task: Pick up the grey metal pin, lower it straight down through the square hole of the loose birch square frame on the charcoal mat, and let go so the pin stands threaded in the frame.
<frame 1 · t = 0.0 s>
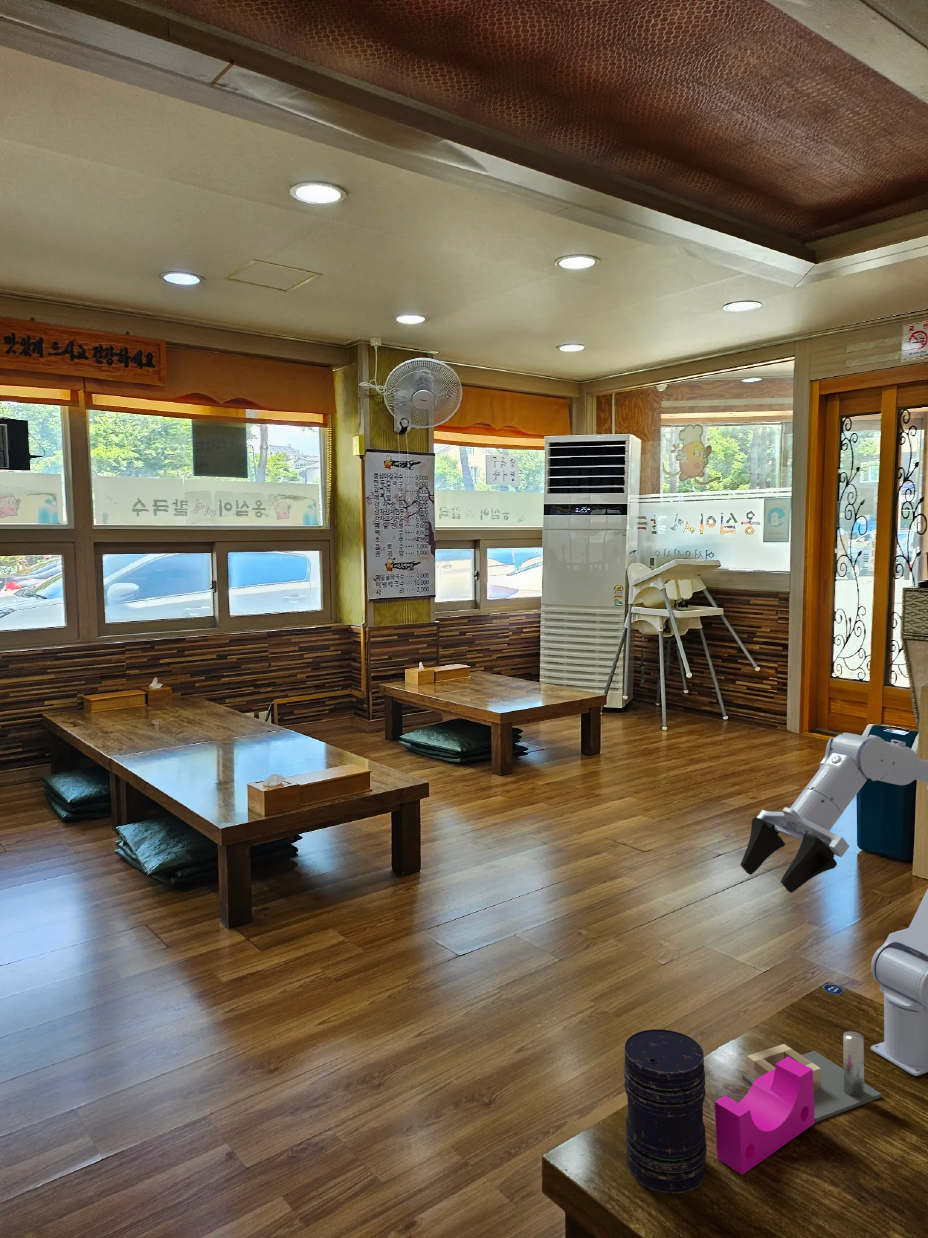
hand: (765, 878, 116), 32 cm above the table, tool tilted 50°, fingers open, 7 cm apart
charcoal mat: (810, 1087, 122), on the table
metal pin: (853, 1092, 120), resting on charcoal mat
dark metal barrel: (666, 1167, 107), on the table
birch square frame: (783, 1082, 123), resting on charcoal mat
toy block: (759, 1137, 112), on the table, touching charcoal mat
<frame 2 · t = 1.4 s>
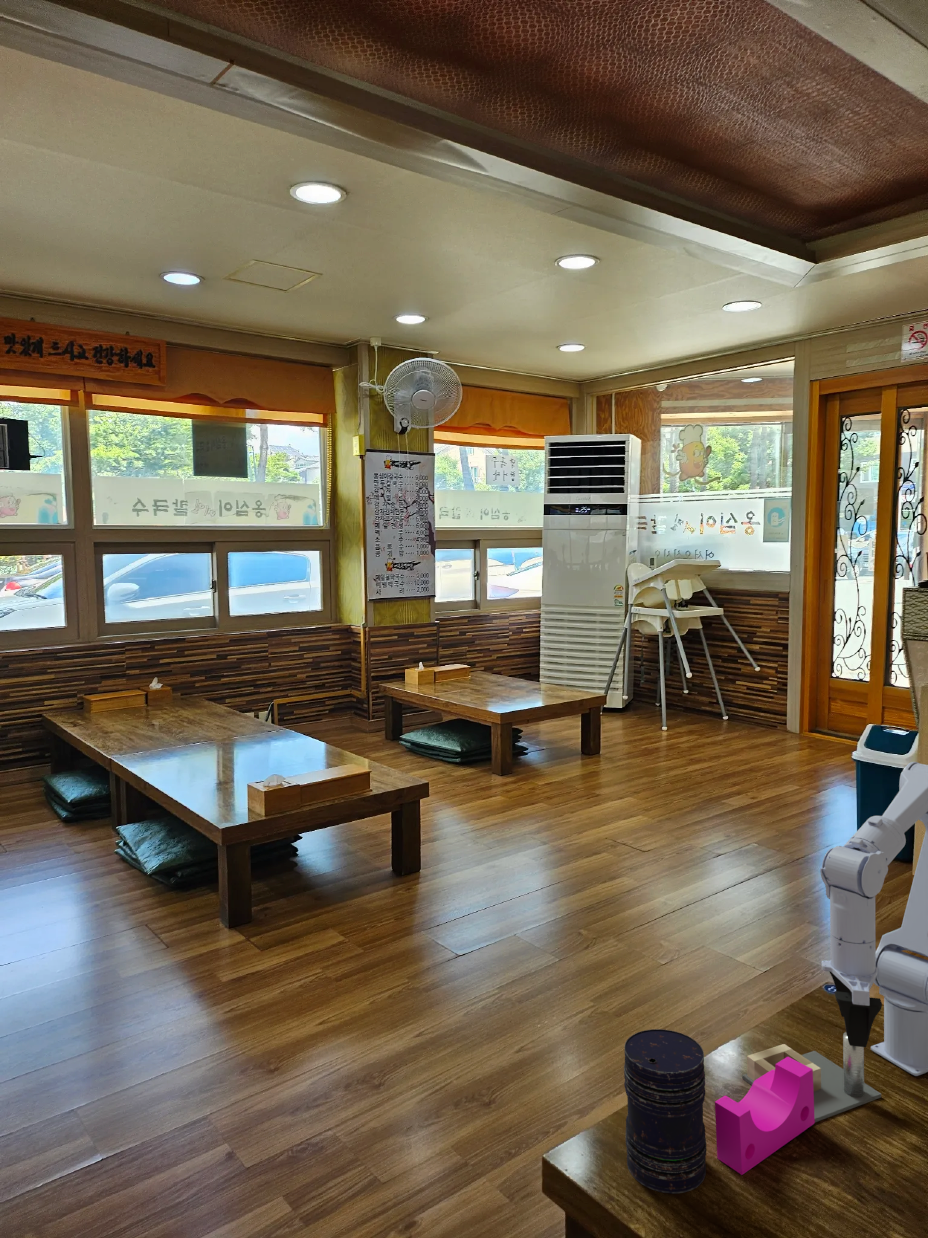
hand: (853, 1030, 119), 9 cm above the table, tool pointing down, fingers open, 7 cm apart
nothing on the table moved.
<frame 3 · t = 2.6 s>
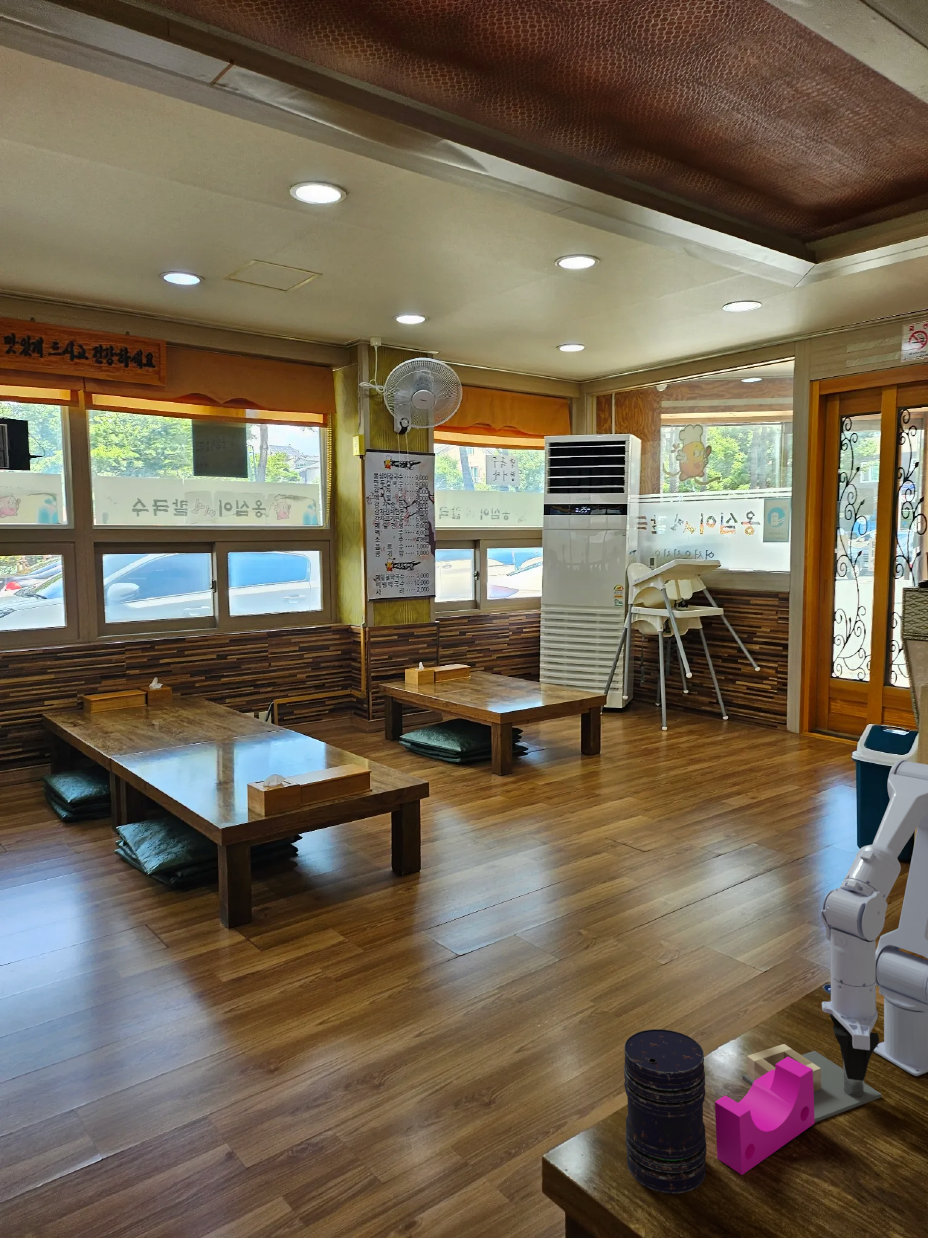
hand: (853, 1072, 120), 3 cm above the table, tool pointing down, fingers closed on metal pin, 3 cm apart
metal pin: (853, 1092, 120), resting on charcoal mat, touching gripper
everything else where it was.
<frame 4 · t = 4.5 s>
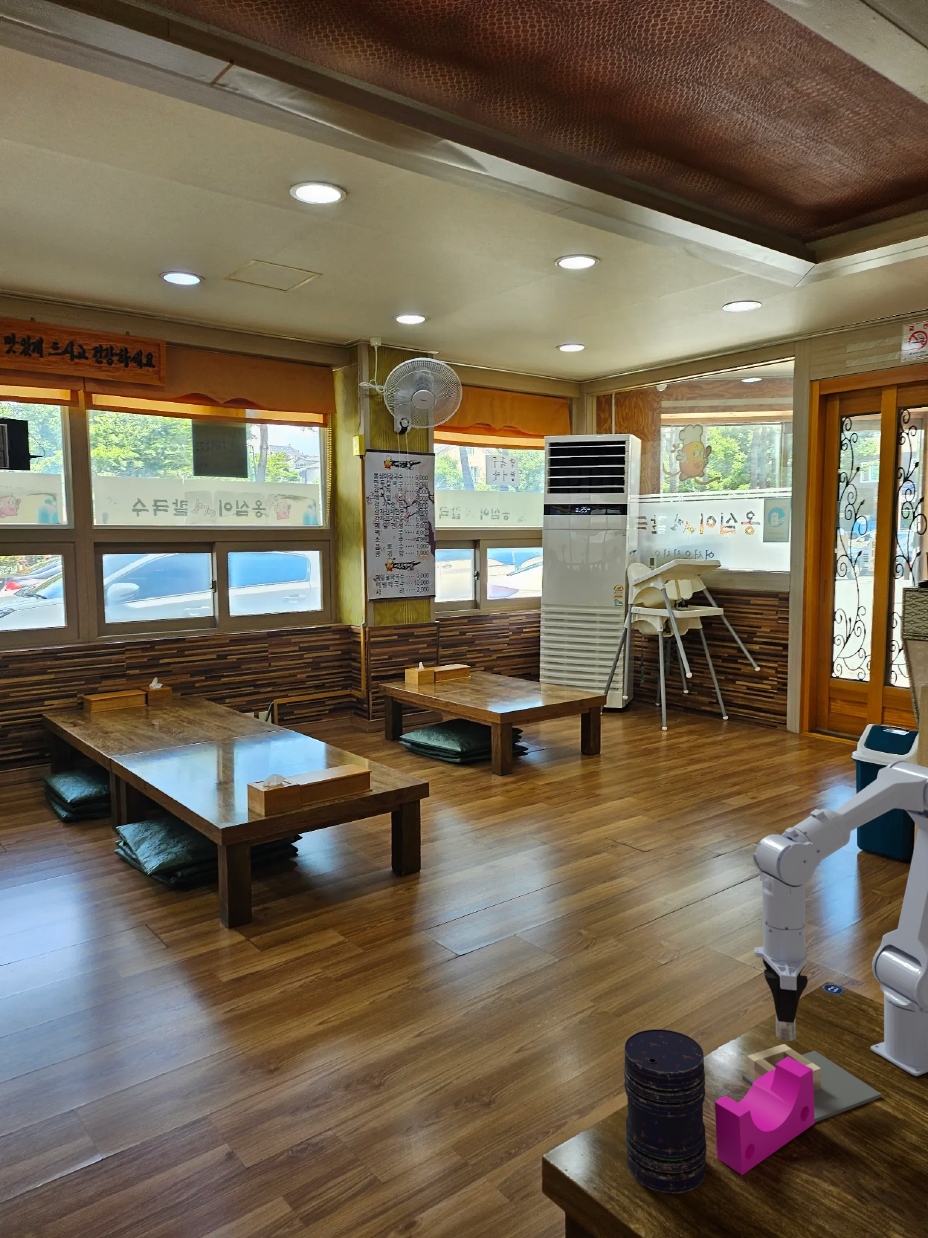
hand: (784, 1015, 122), 10 cm above the table, tool pointing down, fingers closed on metal pin, 3 cm apart
metal pin: (785, 1036, 122), point 7 cm above the table, touching gripper
everything else where it was.
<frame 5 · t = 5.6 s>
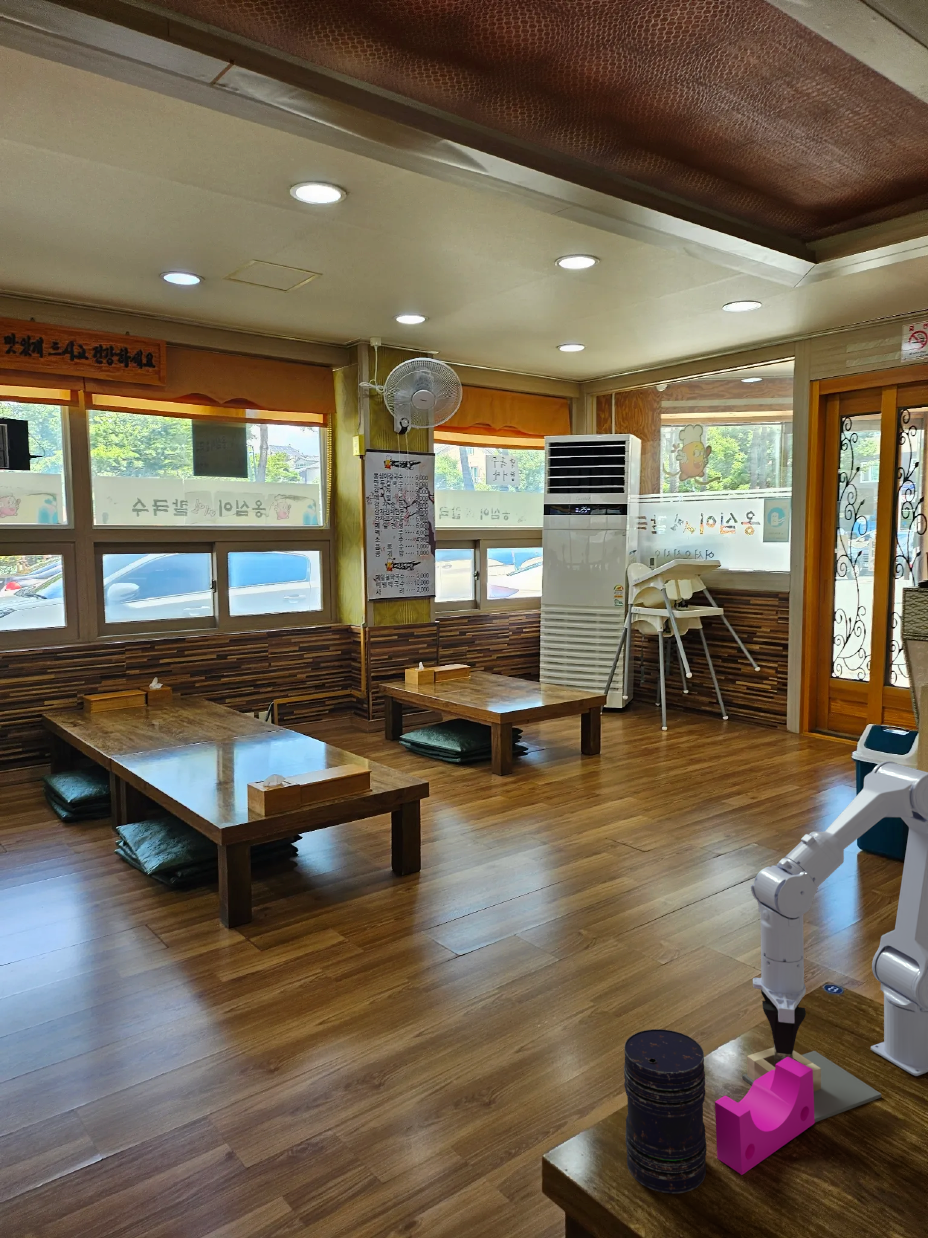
hand: (783, 1046, 122), 6 cm above the table, tool pointing down, fingers closed on metal pin, 3 cm apart
metal pin: (783, 1067, 123), point 3 cm above the table, touching gripper
everything else where it was.
when the fingers open (4 cm above the table, at t = 6.3 s): metal pin stays where it is, resting on charcoal mat.
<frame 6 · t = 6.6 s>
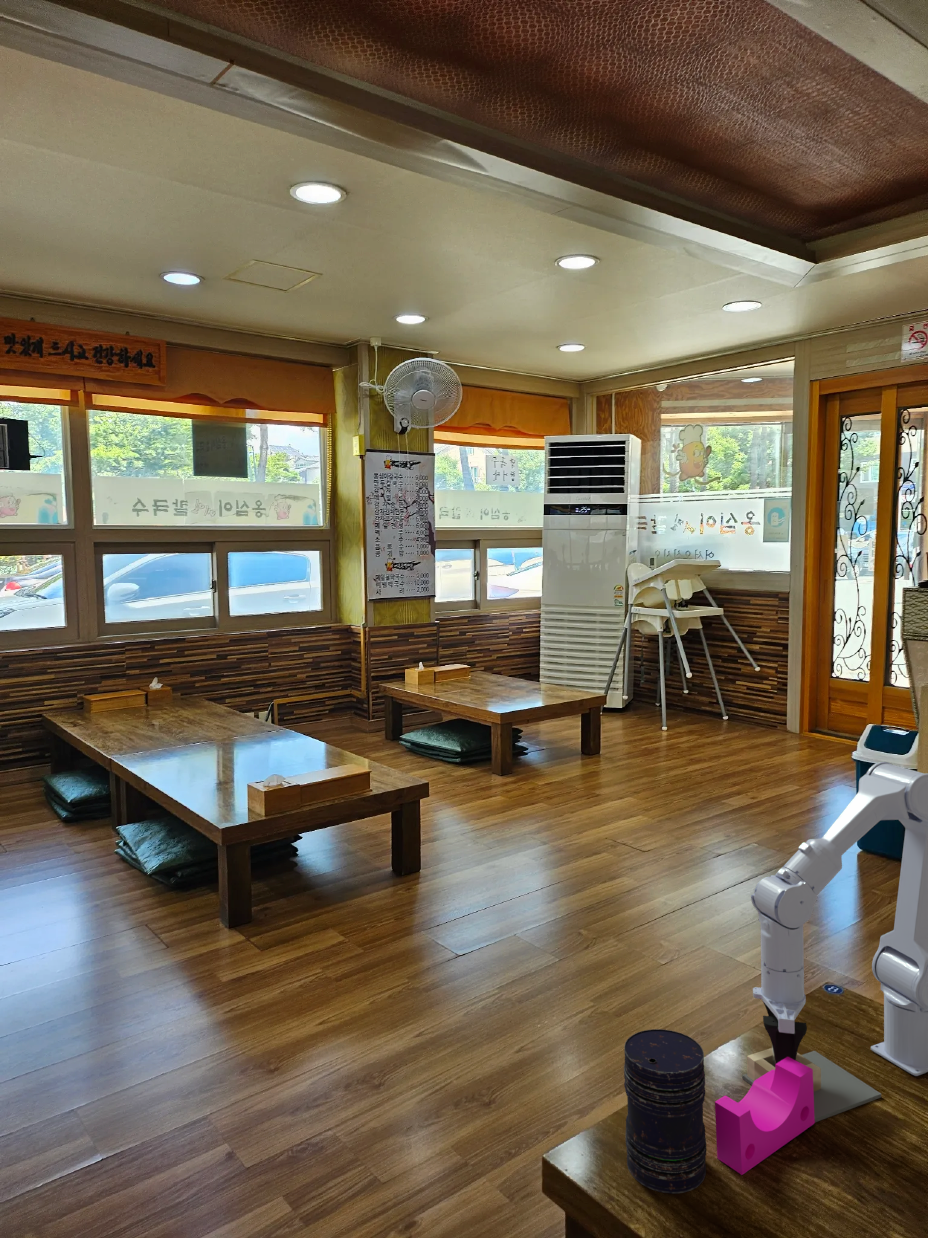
hand: (783, 1056, 122), 4 cm above the table, tool pointing down, fingers open, 5 cm apart
metal pin: (784, 1082, 123), point 1 cm above the table, touching charcoal mat
everything else where it was.
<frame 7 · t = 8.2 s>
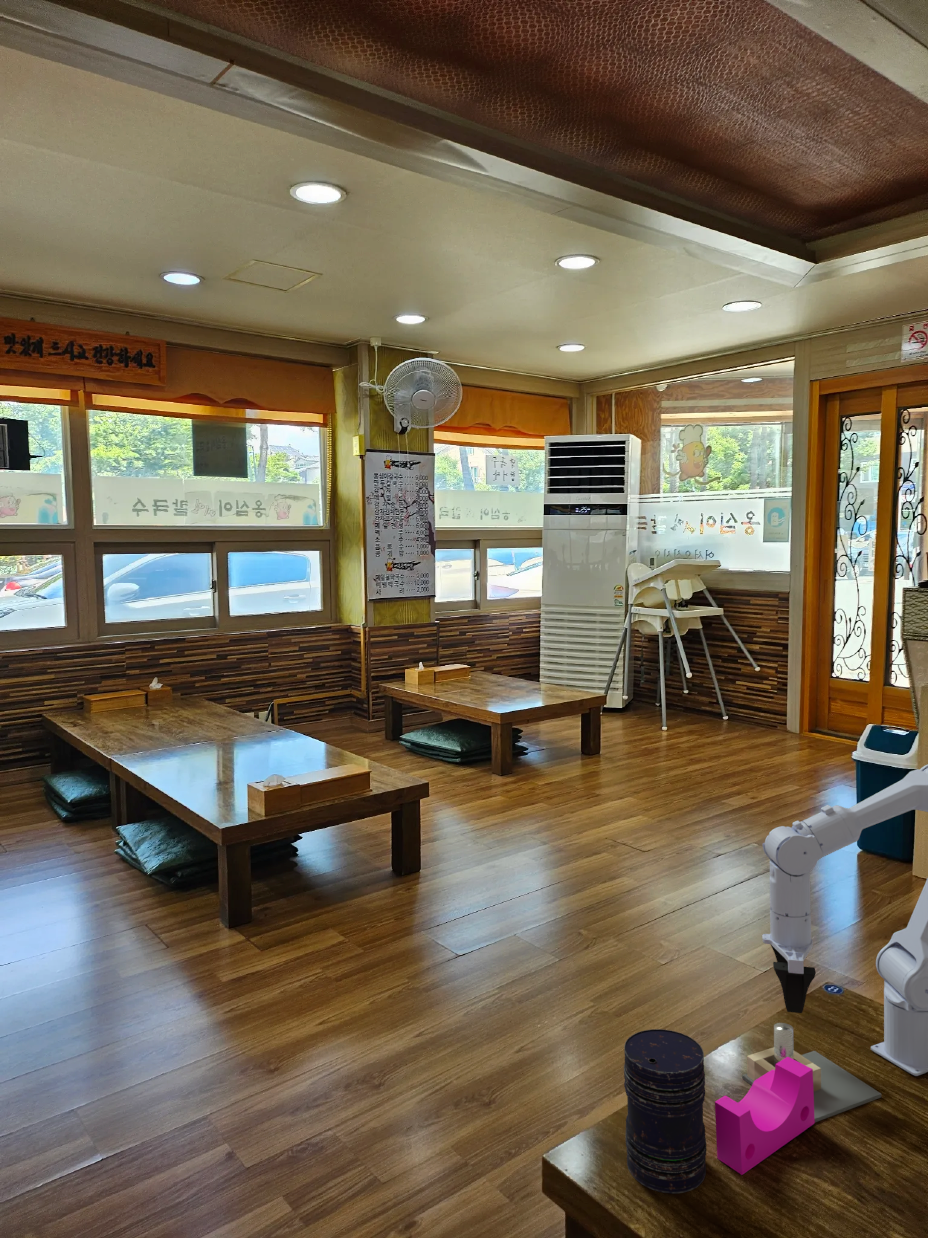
hand: (791, 998, 128), 10 cm above the table, tool pointing down, fingers open, 7 cm apart
nothing on the table moved.
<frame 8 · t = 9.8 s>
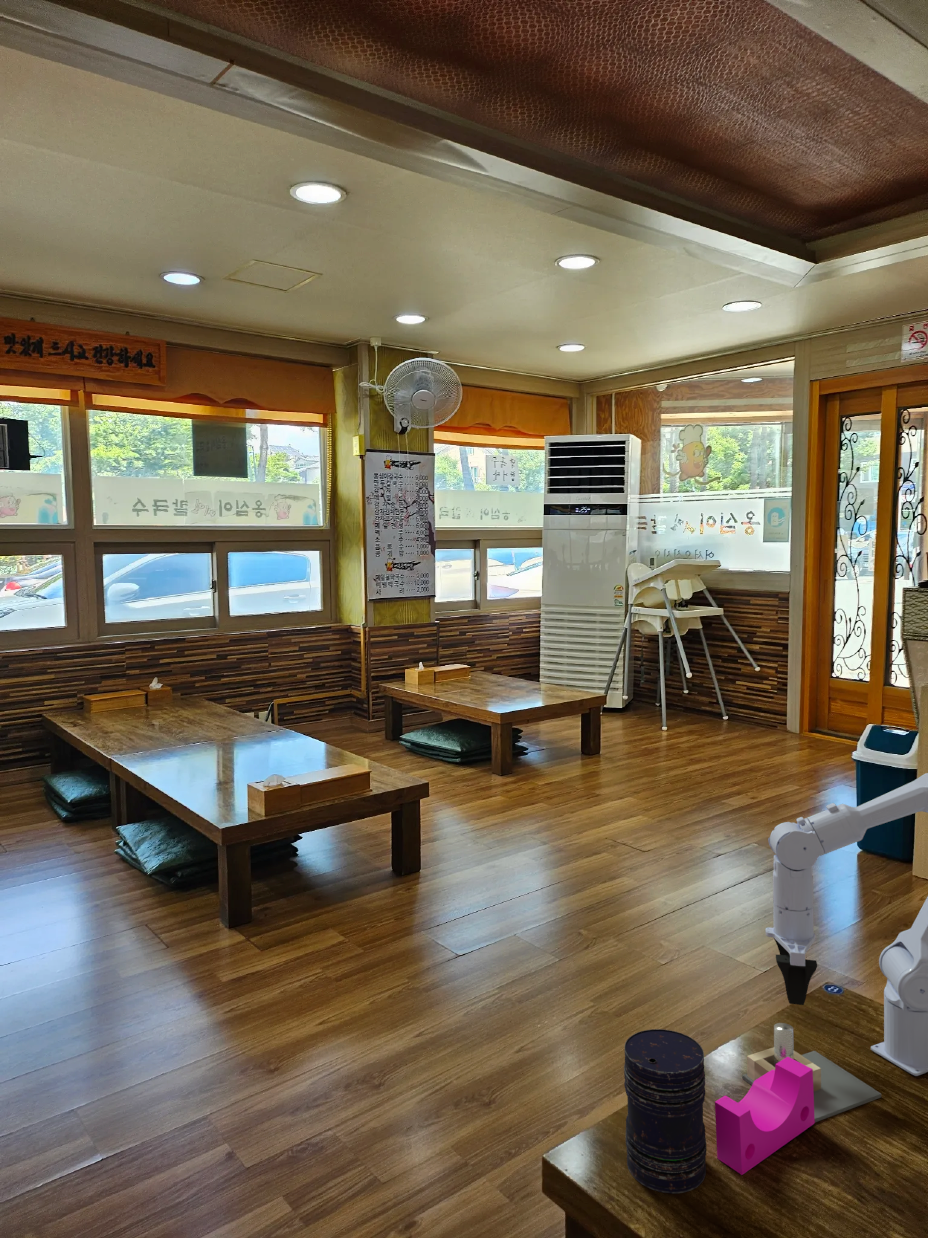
hand: (794, 991, 131), 9 cm above the table, tool pointing down, fingers open, 7 cm apart
nothing on the table moved.
at the end: metal pin 0.1 cm from the birch square frame (horizontally); metal pin point 0.5 cm above the table; metal pin tilted 1° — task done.
